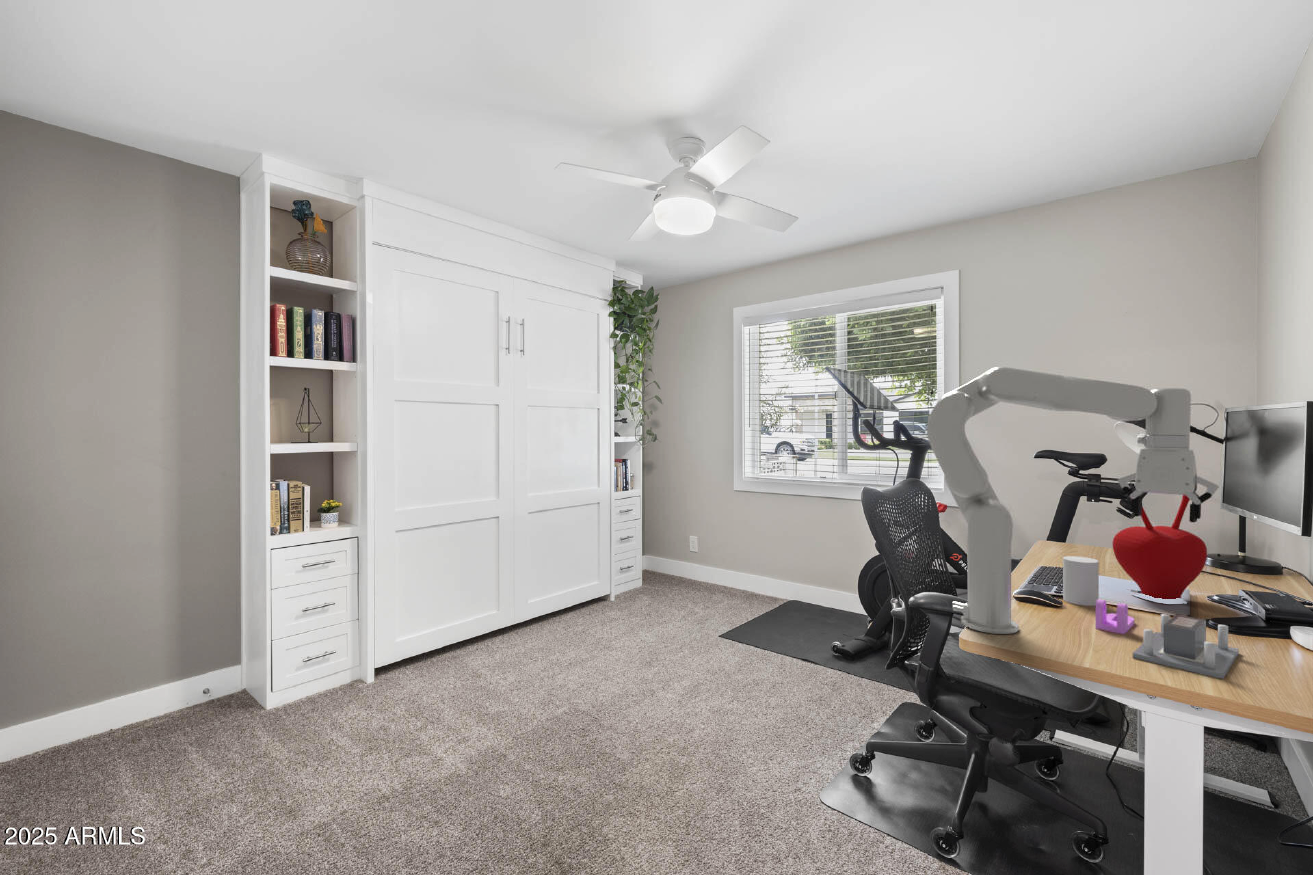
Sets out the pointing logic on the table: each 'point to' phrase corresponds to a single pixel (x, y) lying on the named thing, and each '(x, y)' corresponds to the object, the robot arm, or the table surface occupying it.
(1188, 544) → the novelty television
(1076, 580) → the light grey cylinder
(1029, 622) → the table surface
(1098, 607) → the bracket
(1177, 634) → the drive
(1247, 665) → the table surface
